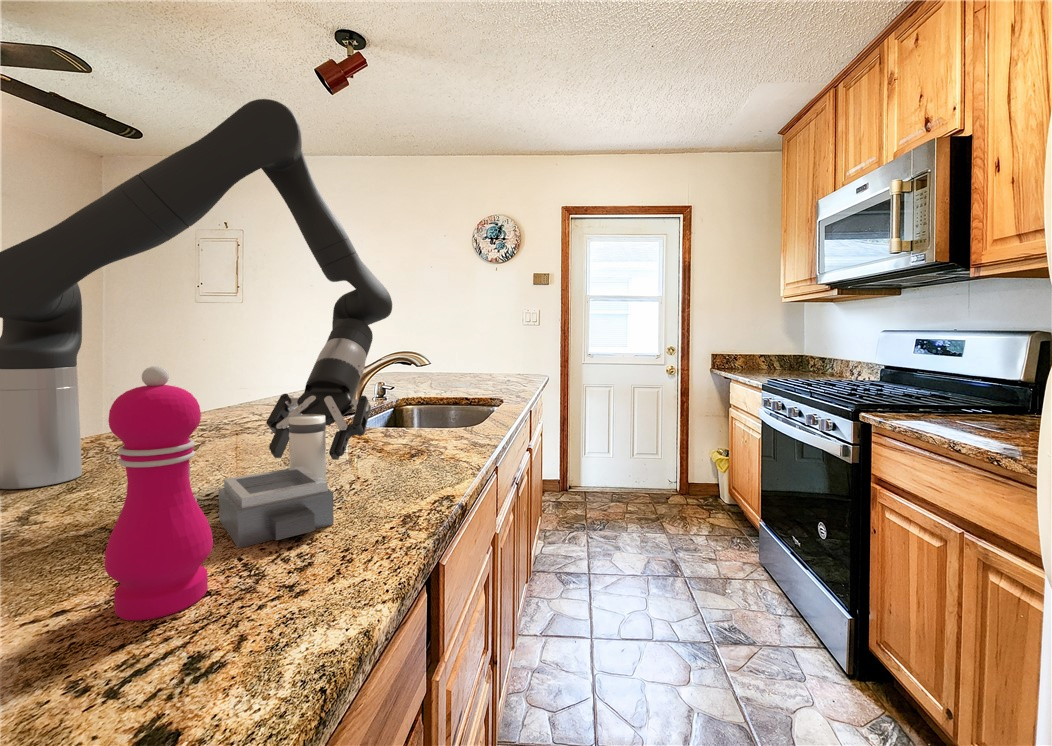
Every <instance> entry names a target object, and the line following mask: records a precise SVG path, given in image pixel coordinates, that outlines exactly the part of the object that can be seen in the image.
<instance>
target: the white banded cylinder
mask: <svg viewBox="0 0 1052 746" xmlns="http://www.w3.org/2000/svg"><path fill="white" fill-rule="evenodd" d="M288 427H289V441H288V445H289V469H290V468H296V467H304V468H306V469H307V470H309V471H310V472H312V473H314V474H315V475H317V476H318V477H320V478H322V479H323V480H325V481H326V482H327V456H326V455H327V453H326V452H327V451H326V449H327V446H326V444H327V443H326V430H327V425H326V421H325V415H322V414H301V415H294V416H290V417H289V426H288Z"/></svg>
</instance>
